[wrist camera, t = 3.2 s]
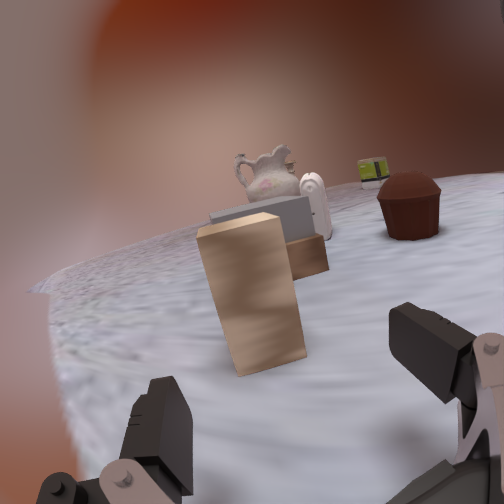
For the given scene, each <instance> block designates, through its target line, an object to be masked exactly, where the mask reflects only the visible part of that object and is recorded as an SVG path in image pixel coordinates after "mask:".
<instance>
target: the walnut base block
mask: <svg viewBox="0 0 504 504" xmlns="http://www.w3.org/2000/svg"><path fill="white" fill-rule="evenodd" d="M285 244H286V249H287V254H288V259H289V263H290V268H291V273H292V278H293V281H294V280H297V279H301V278H304V277H308V276H311V275H314V274H318V273H321V272H324V271H327V270H329V267H328V261H327V255H326V249H325V243H324V237H323V235H320V234H318V233H316V235H314V236H311V237H307V238H303V239H299V240H296V241H292V242H288V243H285Z"/></svg>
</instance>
